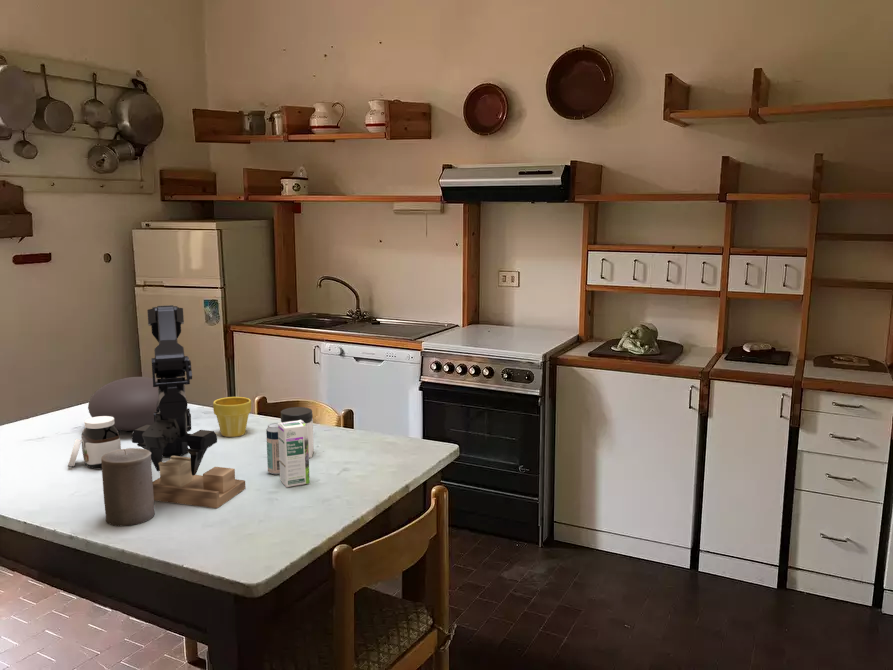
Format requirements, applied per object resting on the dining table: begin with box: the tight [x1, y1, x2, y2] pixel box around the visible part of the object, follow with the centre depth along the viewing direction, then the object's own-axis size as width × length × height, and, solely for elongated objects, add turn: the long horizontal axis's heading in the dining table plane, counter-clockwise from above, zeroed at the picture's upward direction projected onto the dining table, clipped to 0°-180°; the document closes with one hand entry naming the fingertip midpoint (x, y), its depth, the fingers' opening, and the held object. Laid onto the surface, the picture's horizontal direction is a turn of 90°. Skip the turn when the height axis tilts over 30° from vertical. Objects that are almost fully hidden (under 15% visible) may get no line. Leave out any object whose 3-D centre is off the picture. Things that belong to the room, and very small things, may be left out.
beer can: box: [265, 422, 280, 476], centre depth 186 cm, size 5×5×12 cm
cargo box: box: [202, 466, 236, 493], centre depth 171 cm, size 5×5×4 cm
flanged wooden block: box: [159, 456, 193, 487], centre depth 173 cm, size 5×5×6 cm
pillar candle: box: [101, 447, 155, 527], centre depth 159 cm, size 10×10×15 cm
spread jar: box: [67, 416, 122, 469], centre depth 191 cm, size 12×11×12 cm
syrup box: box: [277, 420, 311, 488], centre depth 179 cm, size 6×6×14 cm
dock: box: [153, 474, 246, 509], centre depth 173 cm, size 20×12×4 cm, turn 75°
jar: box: [280, 406, 315, 459], centre depth 199 cm, size 9×8×12 cm
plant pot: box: [212, 396, 252, 438], centre depth 217 cm, size 10×10×10 cm
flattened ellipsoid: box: [87, 376, 159, 432], centre depth 221 cm, size 25×25×15 cm
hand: (176, 472), depth 173 cm, fingers open, 9 cm apart
